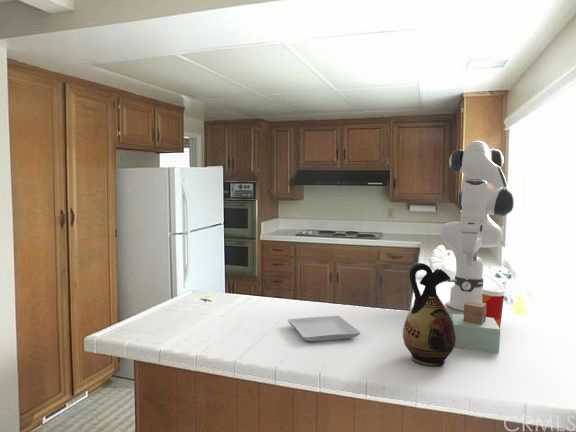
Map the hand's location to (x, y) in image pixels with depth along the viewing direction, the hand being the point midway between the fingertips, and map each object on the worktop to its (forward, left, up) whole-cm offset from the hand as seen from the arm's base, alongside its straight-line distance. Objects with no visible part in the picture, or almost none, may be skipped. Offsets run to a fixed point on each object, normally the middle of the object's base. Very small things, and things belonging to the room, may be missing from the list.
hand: (471, 263), depth 159 cm
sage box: (+6, +3, -27) cm, 28 cm away
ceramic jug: (+32, -7, -27) cm, 43 cm away
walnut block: (+6, +3, -19) cm, 20 cm away
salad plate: (+27, -45, -27) cm, 60 cm away
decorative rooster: (-106, -30, -27) cm, 113 cm away
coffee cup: (-16, +6, -27) cm, 32 cm away
